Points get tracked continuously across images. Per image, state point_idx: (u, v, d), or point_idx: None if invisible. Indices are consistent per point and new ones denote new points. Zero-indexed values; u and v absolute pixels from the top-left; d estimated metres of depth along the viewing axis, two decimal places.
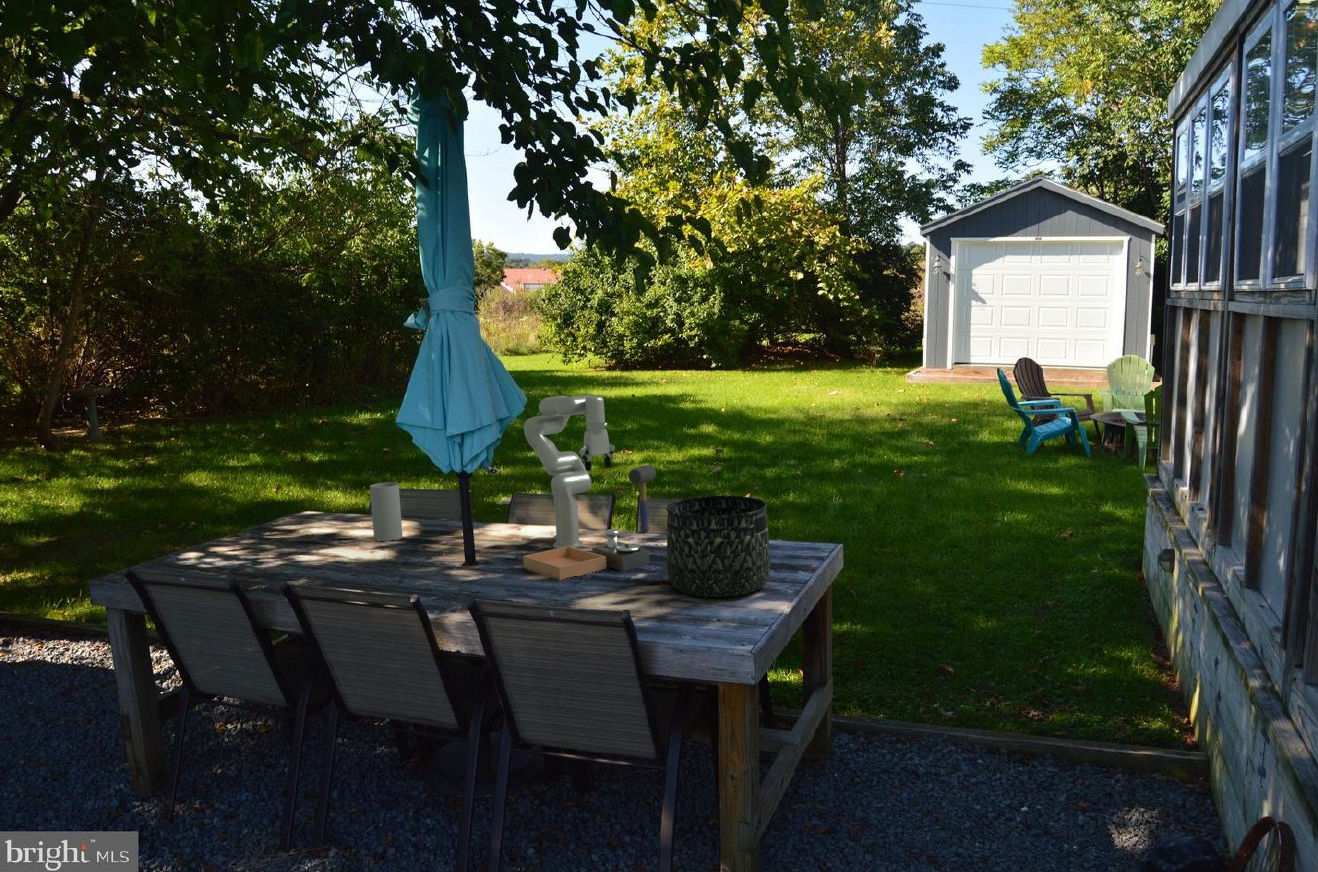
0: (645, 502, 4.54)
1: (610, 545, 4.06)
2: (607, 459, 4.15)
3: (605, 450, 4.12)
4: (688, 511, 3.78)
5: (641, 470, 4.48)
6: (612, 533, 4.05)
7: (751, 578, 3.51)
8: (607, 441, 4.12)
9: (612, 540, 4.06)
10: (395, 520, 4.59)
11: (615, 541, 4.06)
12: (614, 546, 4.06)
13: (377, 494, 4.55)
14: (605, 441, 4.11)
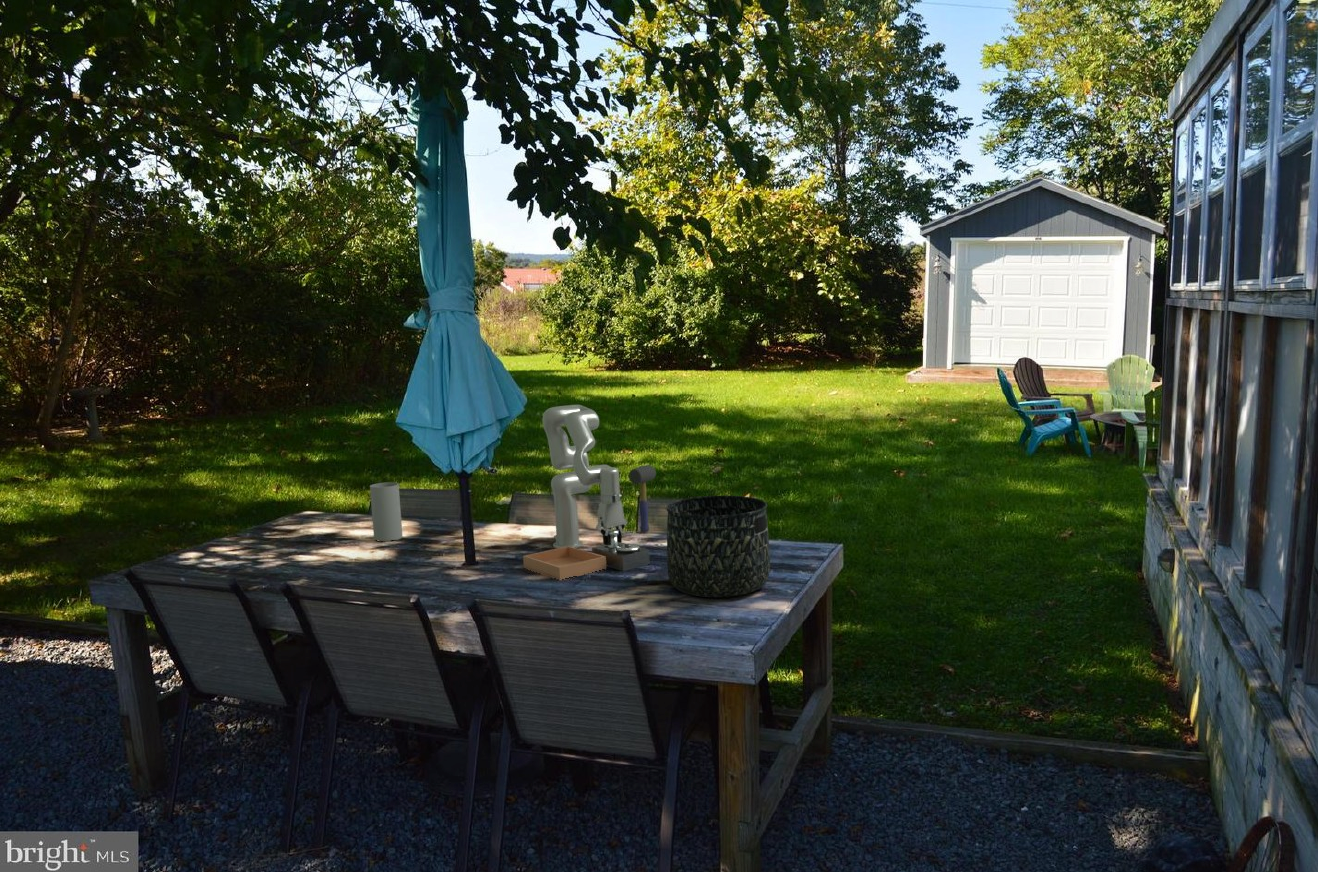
0: (645, 502, 4.54)
1: (610, 545, 4.06)
2: None
3: (619, 522, 4.07)
4: (688, 511, 3.78)
5: (641, 470, 4.48)
6: (612, 533, 4.05)
7: (751, 578, 3.51)
8: (622, 513, 4.07)
9: (612, 540, 4.06)
10: (395, 520, 4.59)
11: (615, 541, 4.06)
12: (614, 546, 4.06)
13: (377, 494, 4.55)
14: (620, 513, 4.06)
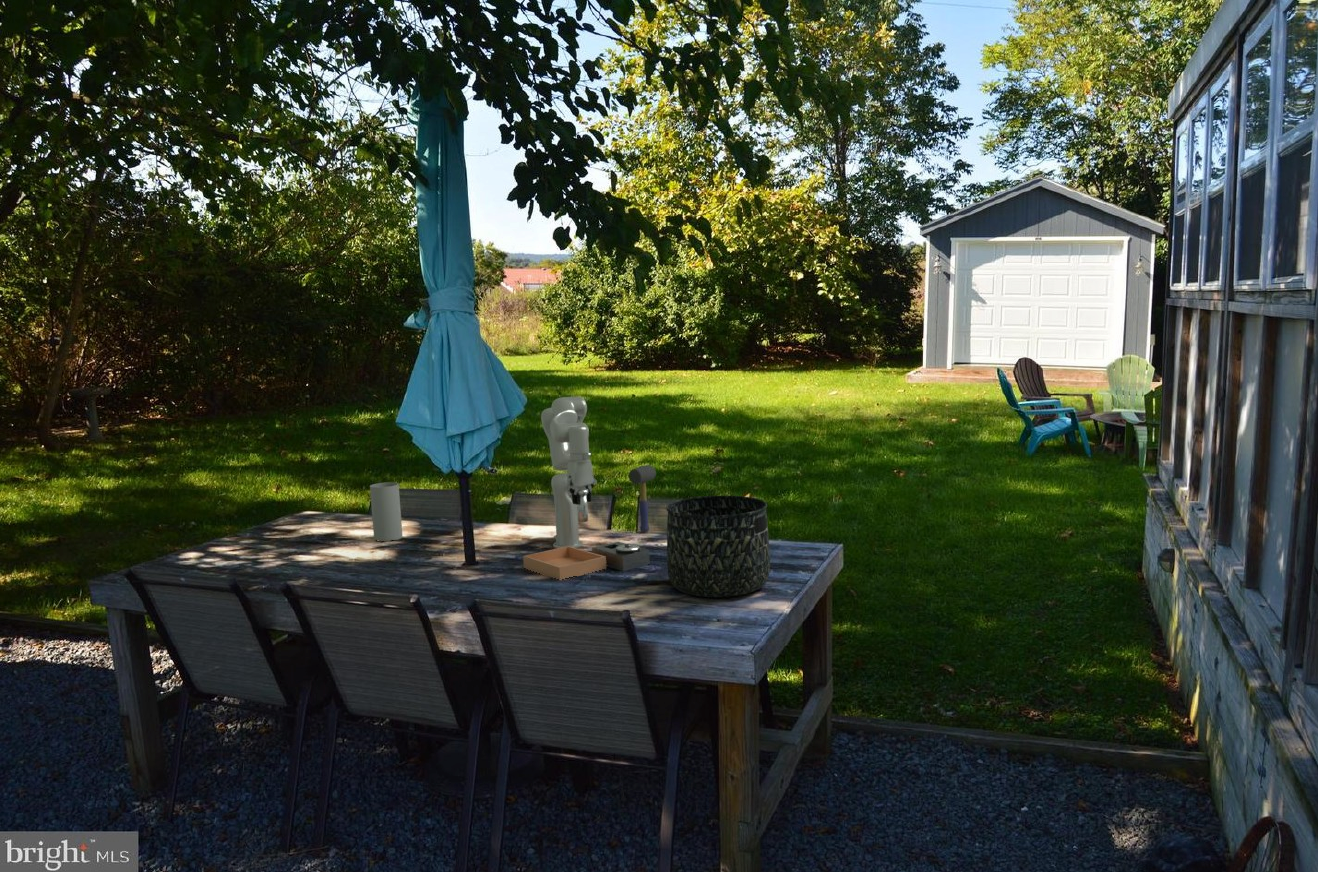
0: (645, 502, 4.54)
1: (580, 505, 3.98)
2: None
3: (589, 481, 3.99)
4: (688, 511, 3.78)
5: (641, 470, 4.48)
6: (581, 492, 3.97)
7: (751, 578, 3.51)
8: (591, 471, 4.00)
9: (581, 499, 3.98)
10: (395, 520, 4.59)
11: (585, 500, 3.99)
12: (584, 505, 3.99)
13: (377, 494, 4.55)
14: (589, 471, 3.99)
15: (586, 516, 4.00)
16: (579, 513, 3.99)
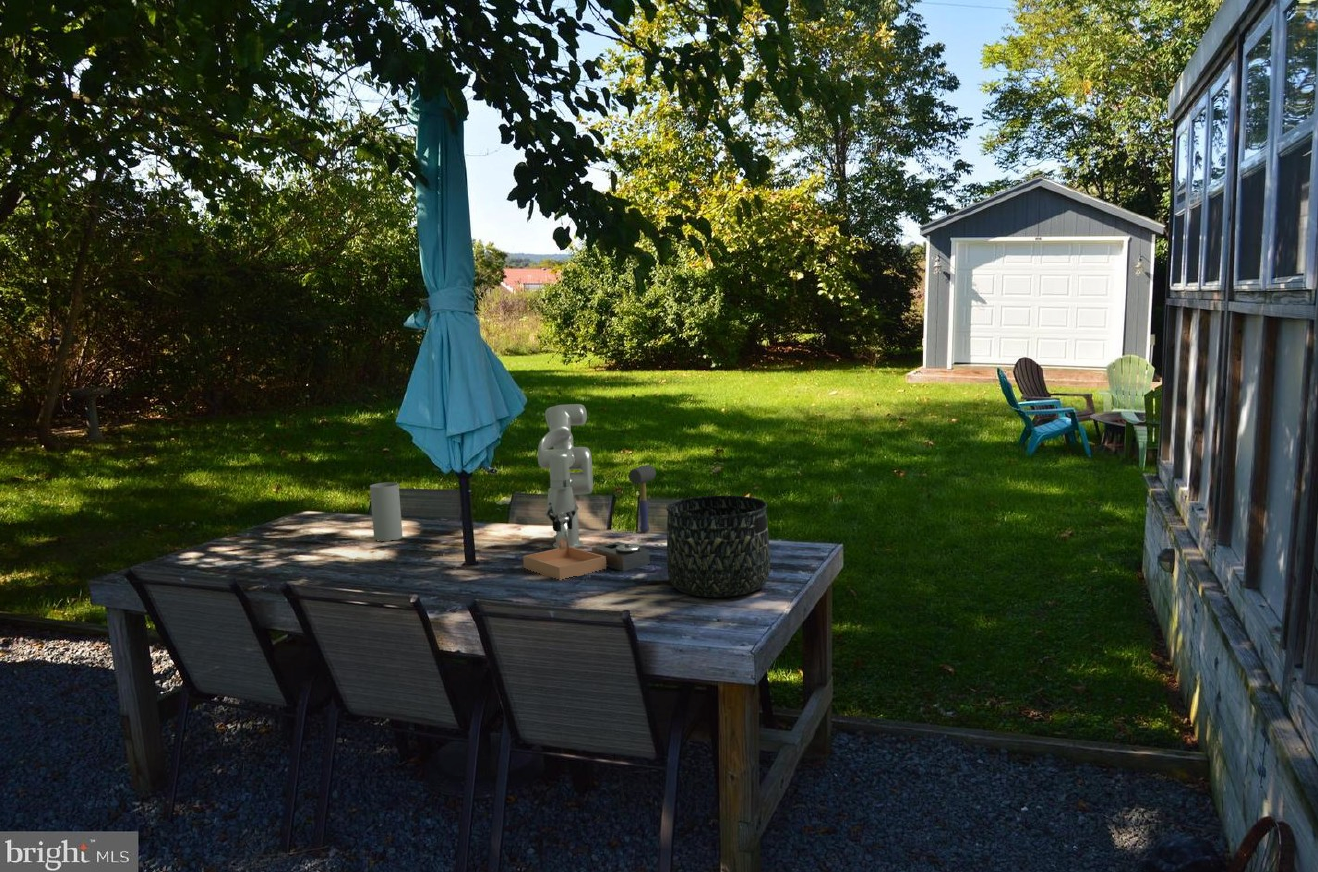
0: (645, 502, 4.54)
1: (560, 532, 3.96)
2: None
3: (570, 508, 3.97)
4: (688, 511, 3.78)
5: (641, 470, 4.48)
6: (562, 519, 3.95)
7: (751, 578, 3.51)
8: (572, 498, 3.97)
9: (562, 526, 3.96)
10: (395, 520, 4.59)
11: (565, 527, 3.96)
12: (564, 533, 3.96)
13: (377, 494, 4.55)
14: (570, 499, 3.96)
15: (567, 543, 3.97)
16: (560, 540, 3.97)
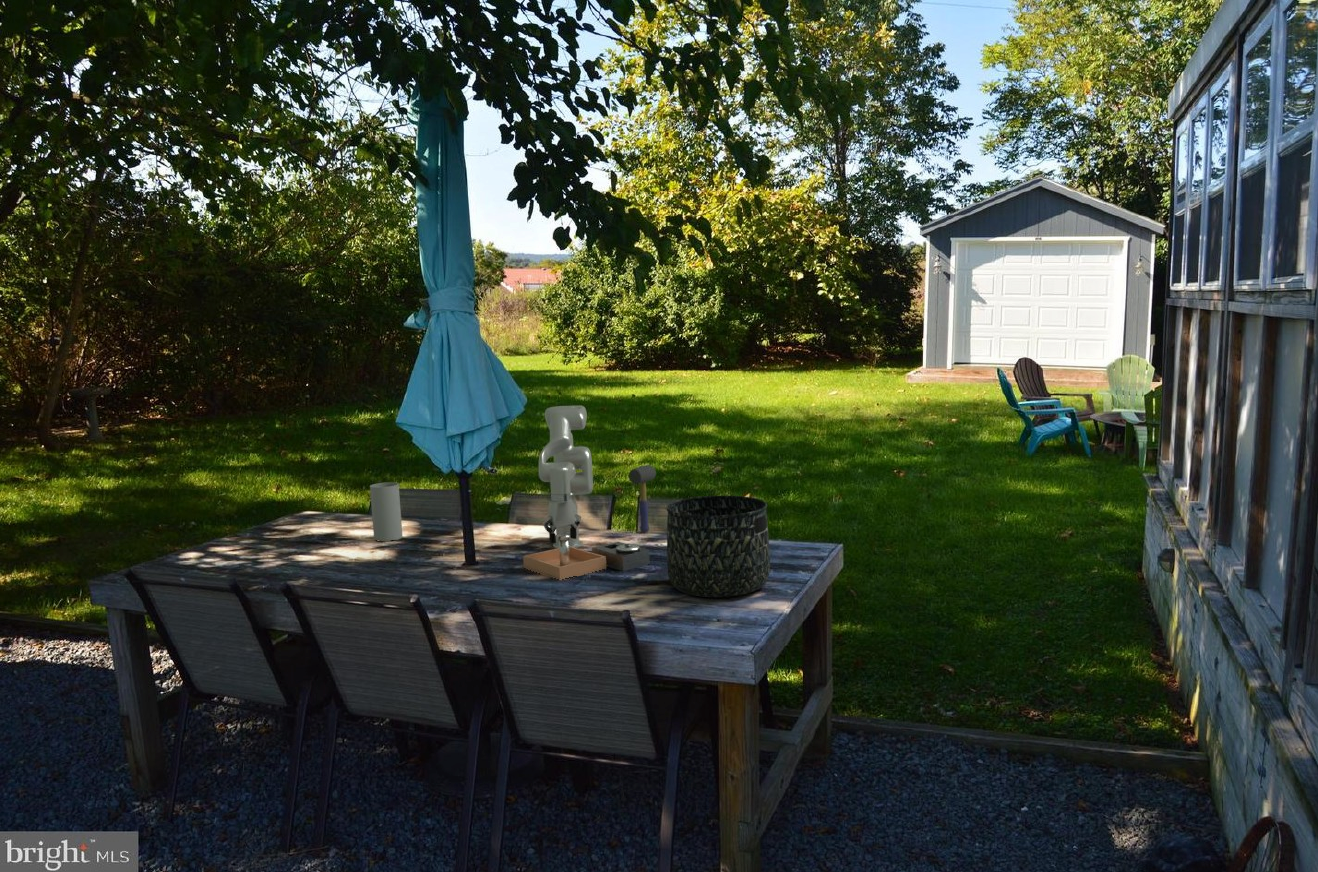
0: (645, 502, 4.54)
1: (562, 550, 3.98)
2: (573, 530, 4.01)
3: (570, 521, 3.98)
4: (688, 511, 3.78)
5: (641, 470, 4.48)
6: (563, 537, 3.96)
7: (751, 578, 3.51)
8: (573, 512, 3.98)
9: (563, 544, 3.97)
10: (395, 520, 4.59)
11: (566, 545, 3.98)
12: (565, 551, 3.98)
13: (377, 494, 4.55)
14: (570, 512, 3.97)
15: (568, 561, 3.99)
16: (561, 558, 3.98)
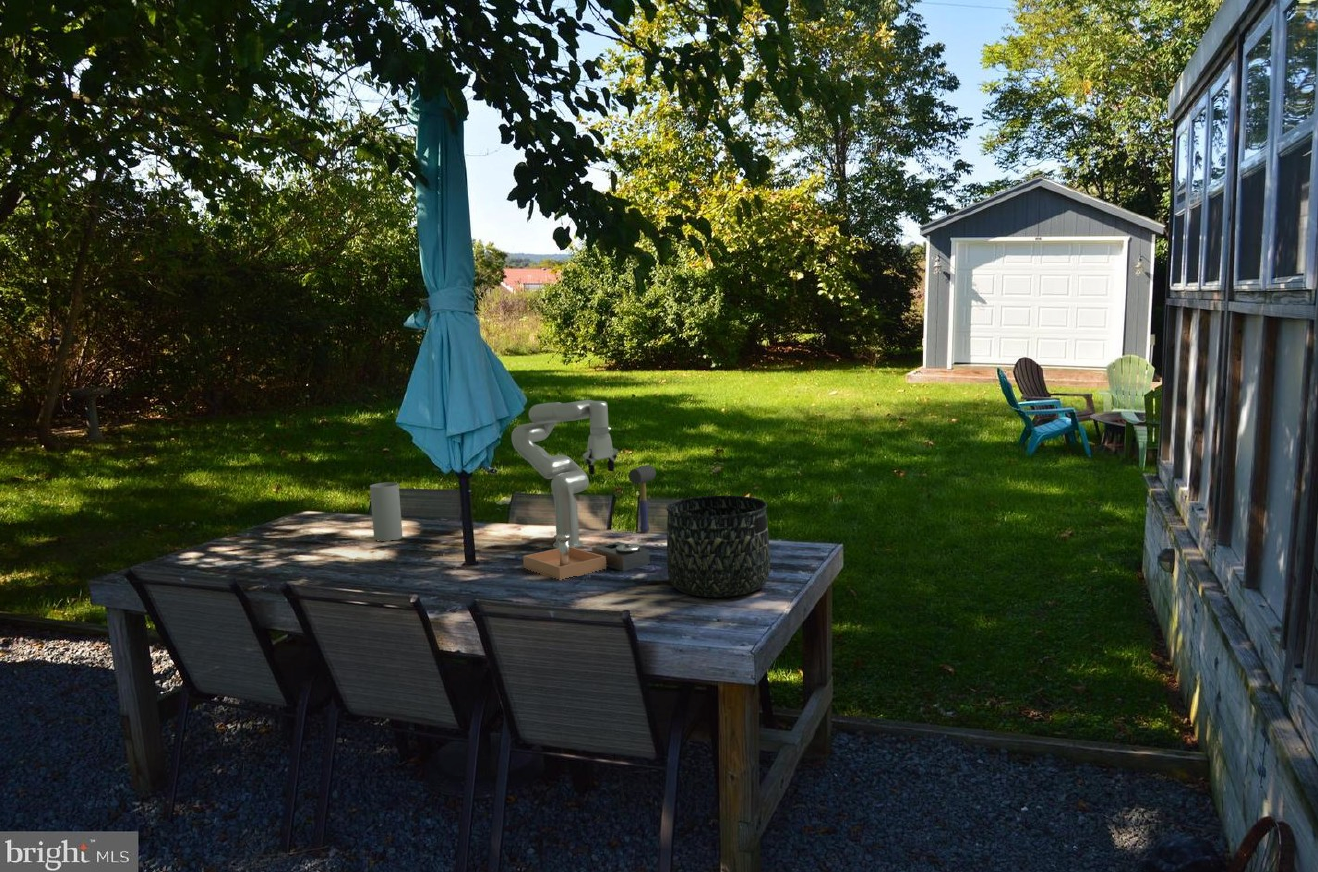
0: (645, 502, 4.54)
1: (562, 550, 3.97)
2: (610, 463, 4.22)
3: (608, 454, 4.19)
4: (688, 511, 3.78)
5: (641, 470, 4.48)
6: (563, 537, 3.96)
7: (751, 578, 3.51)
8: (610, 445, 4.20)
9: (563, 545, 3.97)
10: (395, 520, 4.59)
11: (566, 546, 3.98)
12: (565, 551, 3.98)
13: (377, 494, 4.55)
14: (608, 445, 4.19)
15: (568, 561, 3.99)
16: (561, 558, 3.98)
